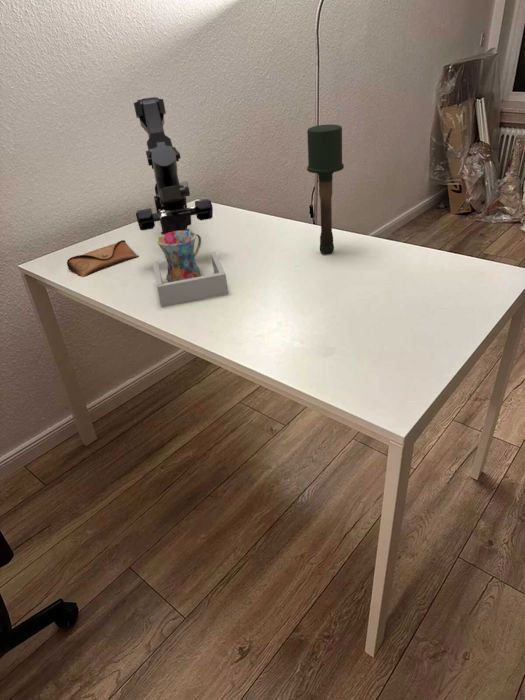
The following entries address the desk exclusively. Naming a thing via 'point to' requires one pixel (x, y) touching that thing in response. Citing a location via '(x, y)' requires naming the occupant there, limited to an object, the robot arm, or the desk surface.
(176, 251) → the mug
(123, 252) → the sunglasses case
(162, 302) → the grey open tray
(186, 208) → the robot arm
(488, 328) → the desk surface
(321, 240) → the stick grenade
